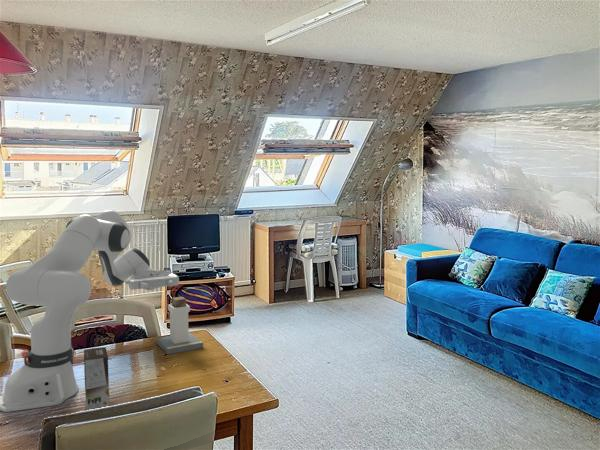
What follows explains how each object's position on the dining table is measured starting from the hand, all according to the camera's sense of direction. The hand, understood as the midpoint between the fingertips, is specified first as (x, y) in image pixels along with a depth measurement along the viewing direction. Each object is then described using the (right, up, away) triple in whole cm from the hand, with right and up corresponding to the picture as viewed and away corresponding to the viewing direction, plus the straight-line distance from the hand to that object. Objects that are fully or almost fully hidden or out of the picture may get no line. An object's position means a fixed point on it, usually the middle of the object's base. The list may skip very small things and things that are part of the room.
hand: (159, 285), depth 209 cm
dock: (+9, -23, -4) cm, 25 cm away
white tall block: (+9, -21, -4) cm, 23 cm away
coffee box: (-4, -29, -54) cm, 62 cm away
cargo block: (+9, -8, -5) cm, 14 cm away
